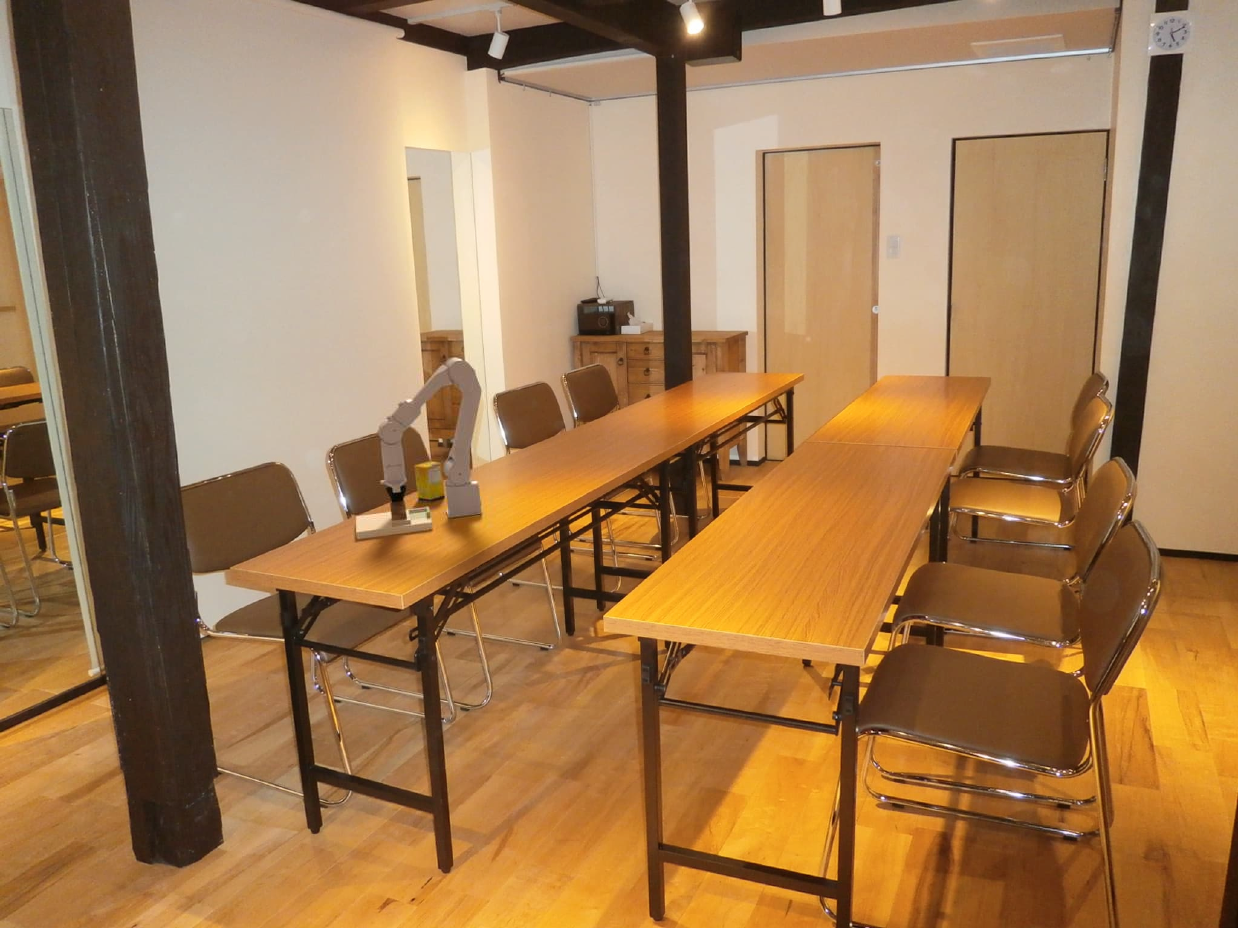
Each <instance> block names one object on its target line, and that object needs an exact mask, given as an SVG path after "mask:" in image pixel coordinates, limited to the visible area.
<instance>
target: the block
mask: <svg viewBox="0 0 1238 928" xmlns="http://www.w3.org/2000/svg"><path fill="white" fill-rule="evenodd" d="M389 505H390V506H389V507H390V508H389V509H390V512H391V516H392V521H395V520H403V519H407V515H406V510H407V509H406V508H407V507H406V500H404V501H397V502H392V501H391V502H389Z"/></svg>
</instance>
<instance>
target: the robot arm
mask: <svg viewBox="0 0 1238 928" xmlns="http://www.w3.org/2000/svg"><path fill="white" fill-rule="evenodd" d="M452 382H453V383H455V384H456V386H457V388H459V390H460V392H462V396H461V401H460V407H459V412H458V416H457V421H456V426H455V433H454V438H453V442H452V447H451V449H450V451H449V453H448V457H447V458H446V460H445V461H444V463H443V465H442V472H443V473H444V475H445V476H446V477H447V478H446V481H445V482H444V483H445V486H444V487H445V491H446V492H445V493H446V494H445V495H446V500H447V501H446V503H447V509H445V512H446V514H447V517H448V519H449V518H457V517H458V518H459V517H467V516H473V515H481V514H483V512H482V511H483V510H482V500H481V491H480V486H479V481H478V480H473V481H472V480H471V476H472V471H471V467H470V463H471V454H470V451H471V447H472V442H473V437H474V431H475V427H476V421H477V418H478V412H479V407H480V402H481V397H482V390H483V389H482V387H481V385H480V382H479V379H478V377H477V375H476V370H475V369H474V367H472V365H471V364H470V363H469V362H467V361H466V360H463V359H461V358H459V357H458V356H457V357H456V356H455V357H454V356H453V357H449V358H448V359H446V361H445V362H444V364H442V365H440V366H439V367H438V368H437V369H436V371H434V373H433V374H432V375H431V376H430V378H428V380H427V381H426V382H425V384H424V385H422V386H421V388H420V389H419V390H418V392H416V394H414V396H413V397H412V398H411V399H405V400H403V401H399V402H398V404H397V406H398V407H397V408H396V409H395V410H394V411H393V412H392V414H391V415H387V416H386V420H384V421H383V422H381V423H380V425H379V426H378V430H377V434H378V437H379V438H380V447H381V448H380V450H381V461H382V469H383V477H384V479H382V480H381V479H380V485H385V486H386V487H385V491H386V493H387V494H388V496H389V498H390V501H391V502H397V501H405V500H404V499H405V495H406V492H407V488H408V487H407V484H405V483H407V482H408V481H407V478H406V477H407V476H406V470H405V468H406V467H405V461H404V451H403V447H402V438H403V433H404V432H405V431H406V430H407V429H408V428H410V426H411V425H412V424H414V422H415V421H416V420H417V419H418V418H419V417H420V416H421V415H422V411H421V409H422V407H423V406H424V405H425V403H427V402H428V401H429V400H430V399H431V398H432V397H433V396H434V395H435V394H436V392H438V390H440V389H441V388H442V387H443V388H444V387H447V386H451V385H453V383H452Z"/></svg>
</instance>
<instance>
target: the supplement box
mask: <svg viewBox="0 0 1238 928" xmlns="http://www.w3.org/2000/svg"><path fill="white" fill-rule="evenodd" d="M413 468H414V476H415V483H416V492H417V500H418V501H421V500H422V502H428V503H431V502H435V501H437V500H440V499H443V498H445V497H446V496H445V495H446V494H445V486H444V479H443V468H442V463H441V462H436V461H426V462H421V463H419V464H415V465H414V466H413Z"/></svg>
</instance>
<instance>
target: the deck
mask: <svg viewBox="0 0 1238 928" xmlns="http://www.w3.org/2000/svg"><path fill="white" fill-rule="evenodd" d="M406 515H407V519H403V520H395V521H392V516H391V511H387V512H379V513H373V514H372V513H371V514H364V515H357V516H355V518H356V519H355V535H356V540H362V539H371V538H378V537H386V536H393V535H400V534H407V533H415V532H422V531H423V532H424V531H429V530H430V529H431V530H434V529H433V520H432V516H431V511H430V507H429V506H425V507H420V508H419V507H418V508H411V509H406Z"/></svg>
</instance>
